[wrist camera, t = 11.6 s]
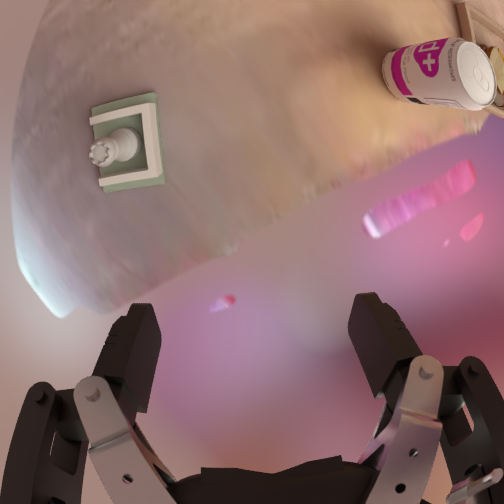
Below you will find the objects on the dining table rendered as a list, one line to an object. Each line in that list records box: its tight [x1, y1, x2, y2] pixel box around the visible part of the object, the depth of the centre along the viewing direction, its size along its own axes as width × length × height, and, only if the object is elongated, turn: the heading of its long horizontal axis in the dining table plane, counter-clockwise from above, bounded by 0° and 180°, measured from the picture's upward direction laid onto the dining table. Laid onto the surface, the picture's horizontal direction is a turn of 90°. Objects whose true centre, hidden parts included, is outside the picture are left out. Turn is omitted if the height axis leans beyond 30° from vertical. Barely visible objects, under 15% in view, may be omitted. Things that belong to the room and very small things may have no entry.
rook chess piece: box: [88, 127, 141, 167], centre depth 26 cm, size 4×4×8 cm
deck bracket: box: [90, 92, 166, 193], centre depth 29 cm, size 12×9×4 cm
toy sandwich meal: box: [479, 45, 504, 111], centre depth 22 cm, size 12×14×5 cm
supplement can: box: [382, 37, 497, 111], centre depth 20 cm, size 8×8×15 cm
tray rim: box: [456, 3, 504, 119], centre depth 22 cm, size 20×19×2 cm
